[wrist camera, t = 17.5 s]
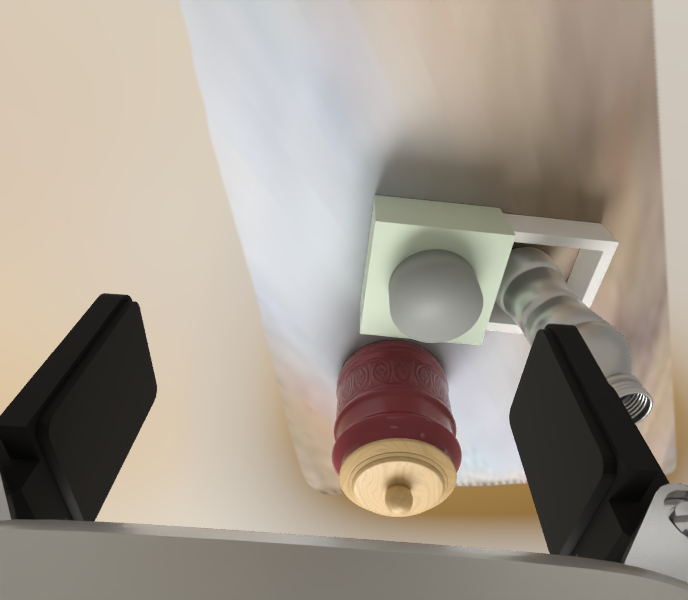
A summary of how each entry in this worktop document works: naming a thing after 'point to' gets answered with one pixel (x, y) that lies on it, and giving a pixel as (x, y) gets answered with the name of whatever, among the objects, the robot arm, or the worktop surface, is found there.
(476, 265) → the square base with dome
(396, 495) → the canister
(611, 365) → the silver bottle
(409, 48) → the worktop surface
